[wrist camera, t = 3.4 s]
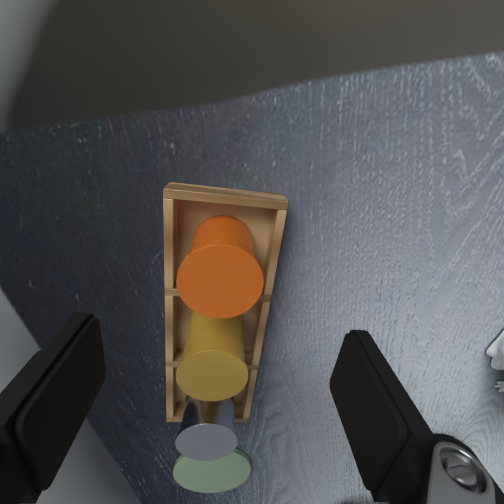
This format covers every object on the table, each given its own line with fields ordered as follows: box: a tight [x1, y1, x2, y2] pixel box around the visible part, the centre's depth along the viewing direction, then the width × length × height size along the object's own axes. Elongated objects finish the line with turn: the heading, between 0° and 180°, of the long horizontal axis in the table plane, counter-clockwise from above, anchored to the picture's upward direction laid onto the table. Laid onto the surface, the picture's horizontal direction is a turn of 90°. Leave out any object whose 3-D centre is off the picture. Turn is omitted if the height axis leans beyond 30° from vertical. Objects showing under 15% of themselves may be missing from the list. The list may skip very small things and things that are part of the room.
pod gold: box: [176, 311, 248, 401], centre depth 20 cm, size 5×5×6 cm
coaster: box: [173, 448, 251, 493], centre depth 32 cm, size 9×9×1 cm
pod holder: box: [163, 182, 289, 423], centre depth 22 cm, size 22×8×2 cm, turn 173°
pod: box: [176, 215, 264, 319], centre depth 17 cm, size 5×5×6 cm
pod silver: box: [175, 394, 238, 461], centre depth 23 cm, size 5×5×6 cm
